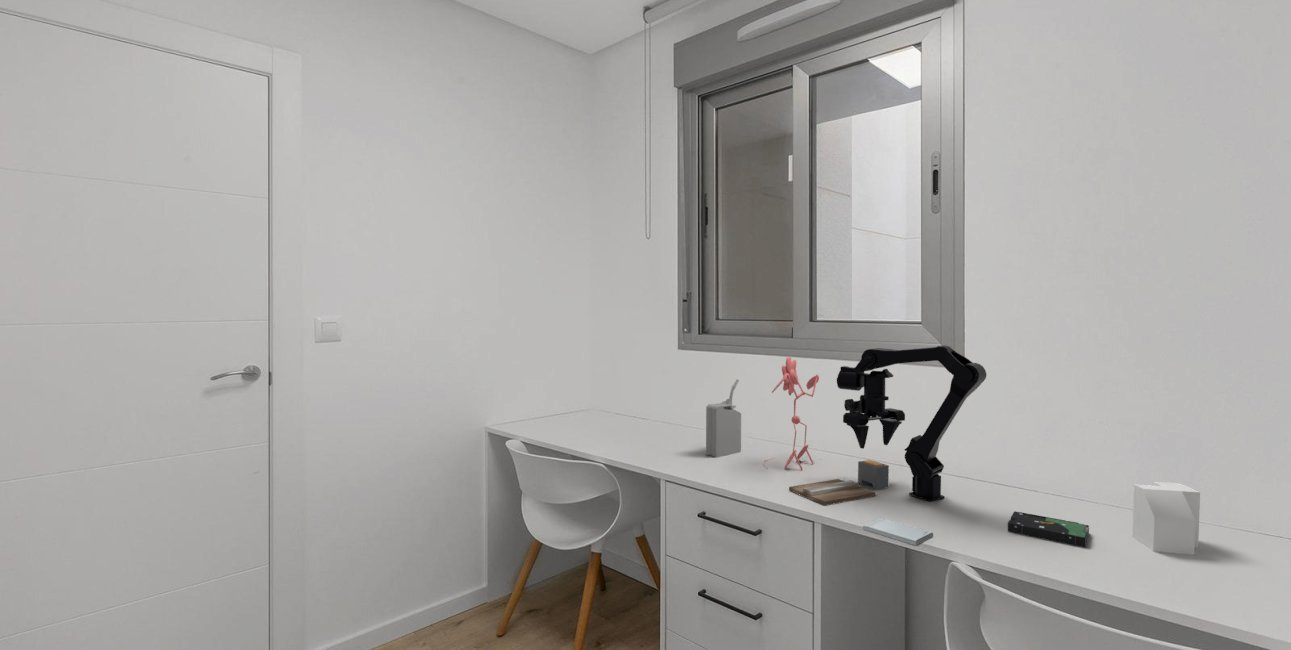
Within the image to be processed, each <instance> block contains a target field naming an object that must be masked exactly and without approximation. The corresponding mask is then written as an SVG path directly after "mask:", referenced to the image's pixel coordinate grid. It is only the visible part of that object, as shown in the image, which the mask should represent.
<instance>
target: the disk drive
mask: <svg viewBox="0 0 1291 650" xmlns="http://www.w3.org/2000/svg"><path fill="white" fill-rule="evenodd" d="M1007 532H1008V533H1013V534H1017V535H1021V536H1027V537H1030V538H1031V537H1033V538H1037V539H1041V540H1047V541H1052V542H1056V543H1060V544H1061V543H1062V544H1066V545H1071V546H1076V547H1081V548H1084V549H1085V548H1087V547H1088V540H1089V535H1090V526H1089V524H1088V525H1087V524H1085V523H1079V522H1076V521H1071V520H1065V519H1064V520H1063V519H1060V518H1055V517H1054V518H1053V517H1049V516H1044V515H1043V516H1042V515H1038V514H1032V513H1026V512H1022V511H1016V510H1014V511H1013V513H1012V515H1011V517H1010V519H1009V520H1008V522H1007Z"/></svg>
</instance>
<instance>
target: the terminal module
mask: <svg viewBox="0 0 1291 650" xmlns="http://www.w3.org/2000/svg"><path fill="white" fill-rule="evenodd" d="M857 464H858V465H857V483H860V485H866V484H872V489H873V488H874V489H873V490H876V489H878V490H884V489H887V488H889V476H890V475H889V472H890V471H889V470H890V469H889V465H888V464H885V463H882V462H877V461H875V460H873V459H865V460H859V461H858V462H857ZM865 483H866V484H865Z"/></svg>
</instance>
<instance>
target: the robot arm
mask: <svg viewBox="0 0 1291 650" xmlns="http://www.w3.org/2000/svg"><path fill="white" fill-rule="evenodd" d="M934 361H935V362H937V361H938V363H940V364H941V365H942V366H943V368H945V369H946V370H947V372H949V373H950V374H951V375H952V379H951V381H950V387H949V392H948V393H947V395H946V397H945V399H944V400H943V401H942V404H941V405H940V406H939V408H938V409H937V412H936V413H935V414H934V415H933V416H934V417H933V418H932V420H931V422H930V423H929V425H928V426H927V428H926V429H925V431H924V433H923V434H922V435H921V434H919V435H917V436H914V437H912V438H911V439H910V440H909V444H908V445H907V447H906V448H905V449H904V450H903V451H905V453H904V460H905V463H906V464H907V465H908V467H909V468H910V472H911V474H912V475H913V476H912V480H911V482H912V483H911V484H912V485H911V487H912V488H911V492H909V493H908V494H909V495H910V496H913V497H915V498H919V499H921V500H924V501H927V502H932V501H936V500H942V499H945V498H946V497H945V495H943V494H942V493H941V492H942V475H939V474H940V473H942V472H943V471H944V470H943V469H944V468H945V466H944V464H943V463H942V462H941V461H940V460H939V458H938V457H937V454H938V451H939V447H940V442H941V440H942V438H943V437H944V435H945V433H946V431H947V430H948V429H949V426H951V424H952V422H953V421H954V419H955V417H956V416H957V414H958V412H959V411H960V409H961V407H962V406H963V405H964V403H965V401H966V399H968V397H969V396H971V394H973V393H974V392H975V391H976V390H977V389H978V388H979V387H980V386H981V385H982V383H983V382H985V380H986V379H987V371H986V369H985V367H984V366H983V365H982V364H980V363H978V362H973V361H971V360H970V359H969V358H967V357H965V355H962V354H960V353H959V352H957V351H956V350H954V349H953V348H952V347H950V346H949V345H938V346H932V347H920V348H911V349H910V348H909V349H893V348H881V347H877V348H869V349H866V350H864V351H863V352H862V354H861V359H860V361H859V362H858V363H857V364H856V366H855V367H850V366H847V365H842V366H840V370H839V372H838V373H837V377H836V386H837V388H838V389H839V390H848V391H849V390H850V391H861V390H862V389H863V394H861V395H860V396H859V400H854V399H853V398H849V399H848V398H847V399H845V400H844V409H845V411H846V412H845V413H844V414H843V415H842V417H843V419H842V420H843V421H842V422H843V423H845V424H846V426H848V427H850V428H851V429H852V430H853V432H854V434H855V438H856V440H857V443H858V446H859V448H860V449H864V448H865V446H866V442H867V438H868V433H869V427H870V426H869V425H868V423H869V421H870V422H871V421H877V420H879V422H880V424H881V425H882V442H883V445H884V446H888V445H889V443H890V441H891V439H892V438H893V436H894V434H895V432H896V431H897V429H898V427H899V426H900V425H901V424H902V423H903V421H906V413H905V412H904V411H903V410H902V409H896V408H892V407H888V408H886V401H889V396H887V395H886V379H890V378H893V377H894V375H893V373H892V372H891V371H889V369H888V368H885V367H889V366H894V365H897V364H909V363H921V362H934ZM880 368H884V369H882V370H877V369H880ZM875 369H876V370H875ZM869 371H870V373H868V372H869ZM865 372H867V373H865Z"/></svg>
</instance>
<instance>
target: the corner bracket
mask: <svg viewBox="0 0 1291 650" xmlns="http://www.w3.org/2000/svg"><path fill="white" fill-rule="evenodd" d="M1132 508H1133V509H1132V510H1133V511H1132V535H1131V536H1132V537H1131V538H1133V539H1134V538H1135V539H1134V540H1136V541H1137V540H1138V541H1137V542H1139V543H1140V542H1141V543H1140V544H1141V545H1143V544H1144V545H1145V546H1144V545H1143V546H1144V547H1146V548H1147V547H1148V548H1147V549H1149V550H1151V551H1152V552H1154V553H1155V552H1158V553H1169V554H1170V553H1171V554H1180V555H1195V548H1199V540H1200V539H1199V535H1200V511H1201V509H1200V508H1201V491H1198V490H1195V488H1192V487H1190V486H1187V485H1185V484H1183V483H1178V482H1167V481H1165V482H1164V481H1162V482H1161V481H1153V482H1152V485H1150V484H1149V485H1148V484H1137V483H1136V484H1133V507H1132Z"/></svg>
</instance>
